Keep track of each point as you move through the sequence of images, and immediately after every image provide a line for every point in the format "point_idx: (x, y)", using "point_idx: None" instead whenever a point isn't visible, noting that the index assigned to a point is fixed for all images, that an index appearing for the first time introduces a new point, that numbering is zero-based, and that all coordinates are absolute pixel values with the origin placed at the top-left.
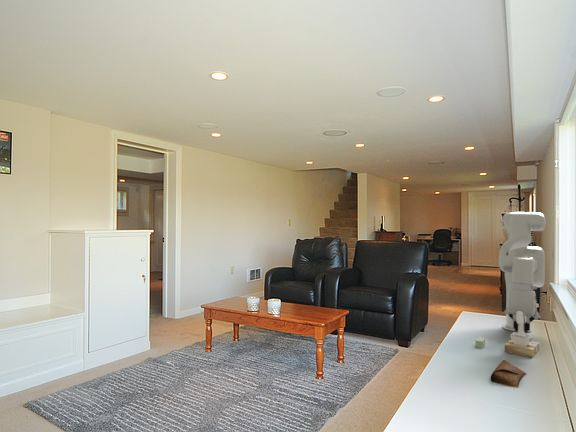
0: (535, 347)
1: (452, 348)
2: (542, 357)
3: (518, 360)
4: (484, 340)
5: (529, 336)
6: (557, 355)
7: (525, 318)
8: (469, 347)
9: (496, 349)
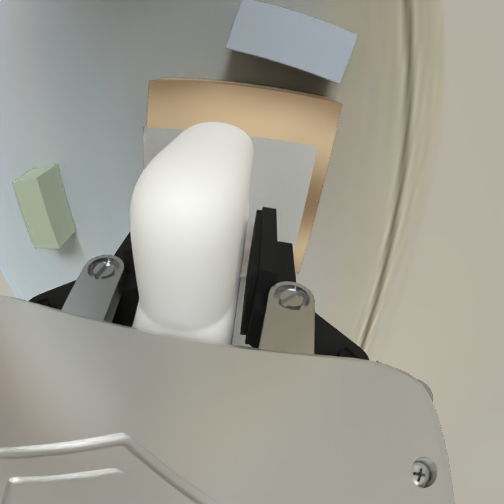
0: (320, 189)
1: (32, 294)
2: (345, 214)
3: (238, 315)
4: (45, 184)
5: (286, 207)
6: (427, 126)
7: (231, 291)
8: (45, 252)
9: (120, 209)
